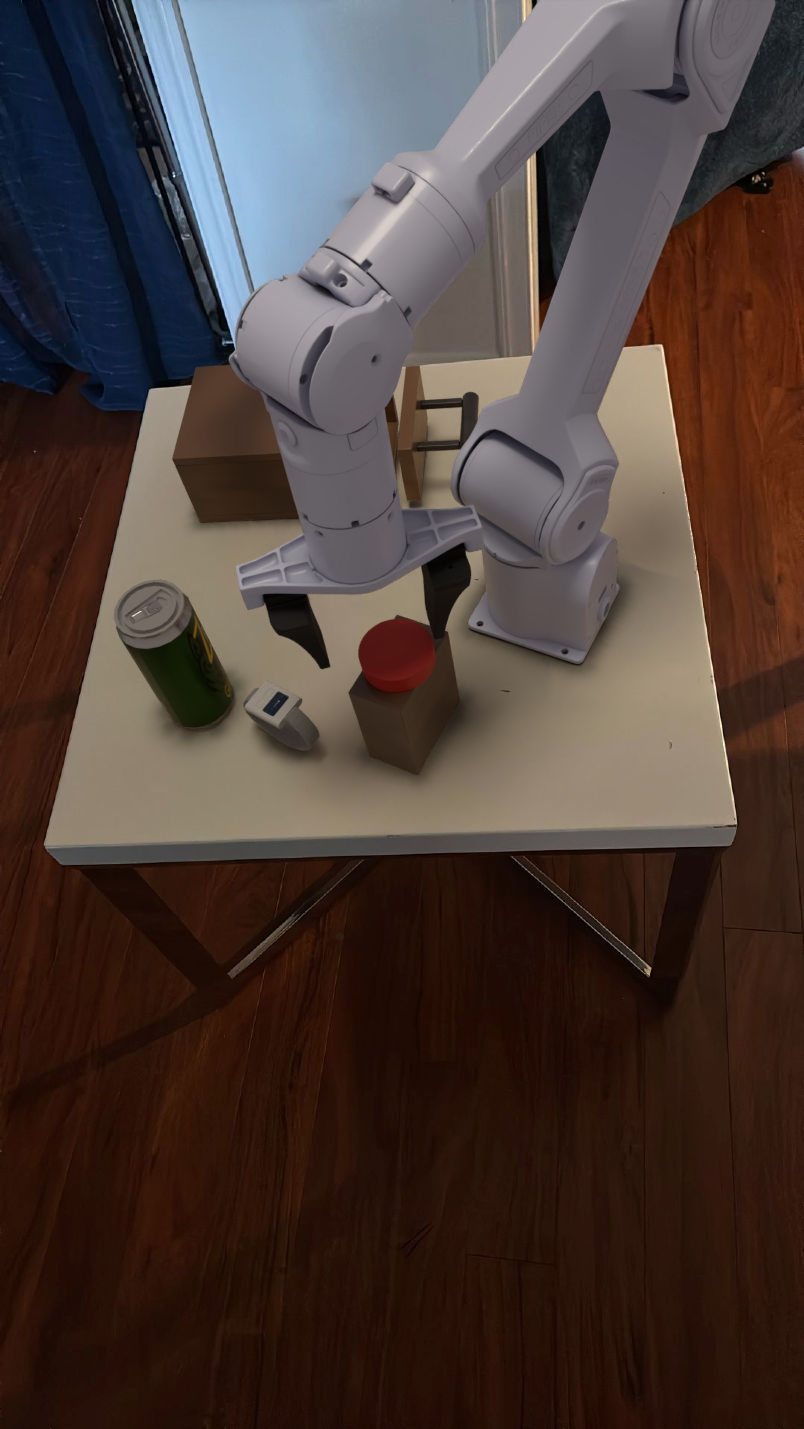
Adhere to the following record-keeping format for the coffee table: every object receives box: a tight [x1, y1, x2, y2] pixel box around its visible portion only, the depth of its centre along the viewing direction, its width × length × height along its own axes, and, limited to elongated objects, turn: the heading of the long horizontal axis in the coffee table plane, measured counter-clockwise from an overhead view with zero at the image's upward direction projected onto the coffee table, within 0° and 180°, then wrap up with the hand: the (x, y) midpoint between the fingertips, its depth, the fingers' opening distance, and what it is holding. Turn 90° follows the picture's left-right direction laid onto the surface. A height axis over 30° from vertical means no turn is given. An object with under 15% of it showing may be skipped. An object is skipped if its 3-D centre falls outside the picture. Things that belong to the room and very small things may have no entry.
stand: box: [348, 614, 461, 775], centre depth 73 cm, size 4×7×8 cm, turn 152°
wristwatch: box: [242, 680, 321, 752], centre depth 76 cm, size 6×3×5 cm, turn 56°
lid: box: [357, 618, 436, 693], centre depth 69 cm, size 5×5×2 cm
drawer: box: [385, 365, 480, 502], centre depth 88 cm, size 17×10×6 cm, turn 86°
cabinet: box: [171, 364, 299, 523], centre depth 90 cm, size 13×11×8 cm
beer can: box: [113, 579, 234, 730], centre depth 75 cm, size 5×5×12 cm
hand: (379, 641), depth 68 cm, fingers open, 7 cm apart
